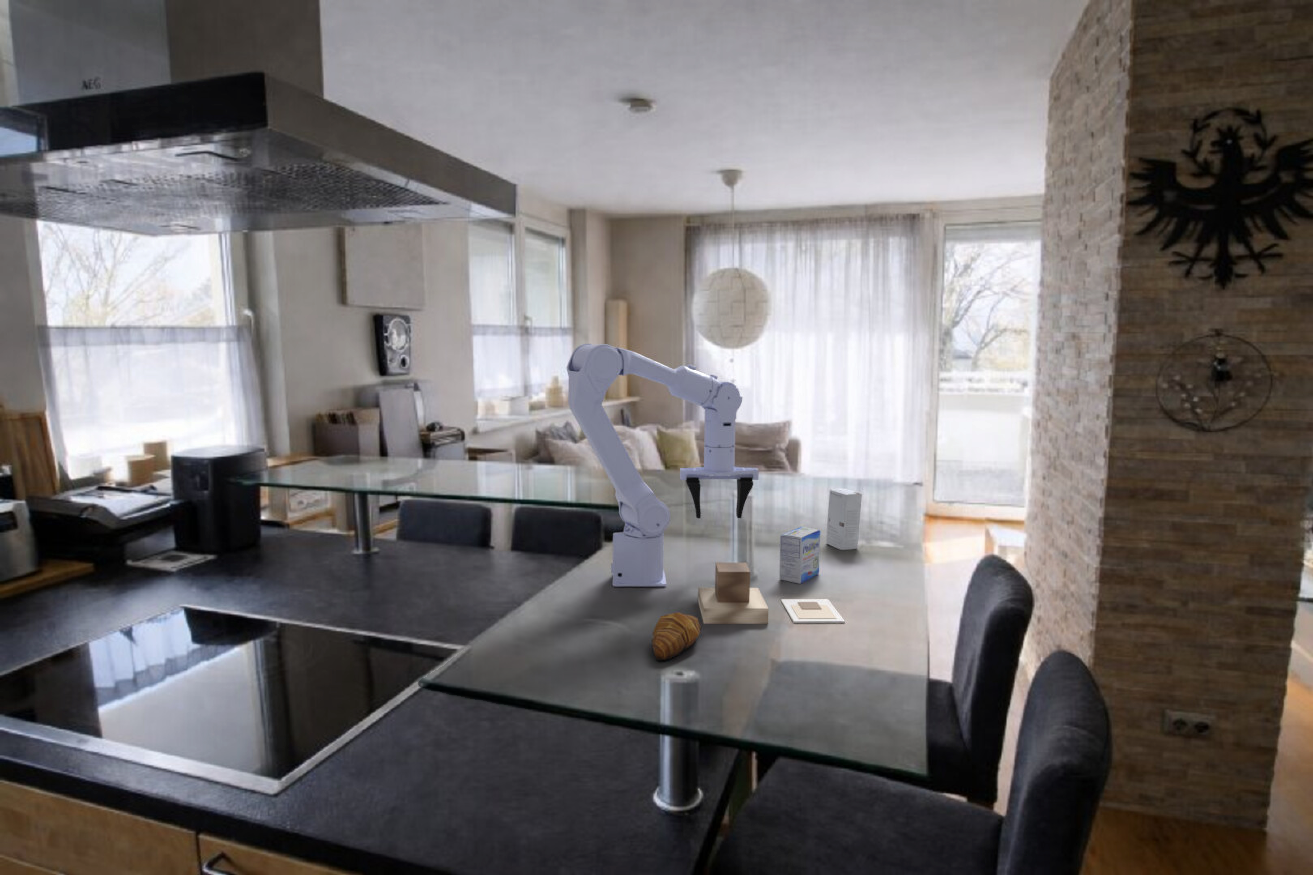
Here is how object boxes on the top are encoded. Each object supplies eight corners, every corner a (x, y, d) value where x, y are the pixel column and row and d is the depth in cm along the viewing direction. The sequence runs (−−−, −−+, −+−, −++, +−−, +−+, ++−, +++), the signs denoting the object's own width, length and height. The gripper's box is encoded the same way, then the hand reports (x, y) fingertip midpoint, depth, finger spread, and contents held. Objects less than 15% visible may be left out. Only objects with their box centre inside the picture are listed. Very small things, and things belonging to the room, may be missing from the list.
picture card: (793, 623, 117) (793, 620, 117) (780, 600, 127) (781, 598, 127) (844, 622, 117) (844, 619, 117) (828, 600, 127) (828, 598, 127)
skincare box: (825, 543, 163) (827, 488, 162) (842, 541, 165) (844, 487, 163) (842, 551, 158) (844, 494, 156) (859, 549, 159) (862, 492, 158)
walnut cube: (717, 602, 119) (718, 571, 118) (714, 591, 124) (715, 562, 123) (749, 602, 119) (750, 571, 118) (745, 592, 124) (746, 562, 123)
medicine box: (800, 585, 136) (802, 538, 134) (778, 580, 138) (779, 534, 137) (819, 574, 142) (821, 529, 141) (798, 569, 144) (799, 525, 143)
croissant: (671, 625, 116) (672, 594, 115) (713, 633, 113) (714, 601, 113) (635, 659, 103) (635, 624, 103) (681, 668, 101) (682, 632, 100)
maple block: (703, 627, 117) (704, 608, 116) (698, 604, 126) (698, 587, 126) (767, 627, 117) (768, 608, 117) (757, 604, 127) (757, 587, 126)
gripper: (681, 448, 136) (681, 522, 138) (761, 448, 136) (760, 522, 138) (679, 443, 143) (679, 513, 145) (755, 443, 143) (754, 513, 145)
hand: (718, 517), depth 142 cm, fingers open, 7 cm apart
